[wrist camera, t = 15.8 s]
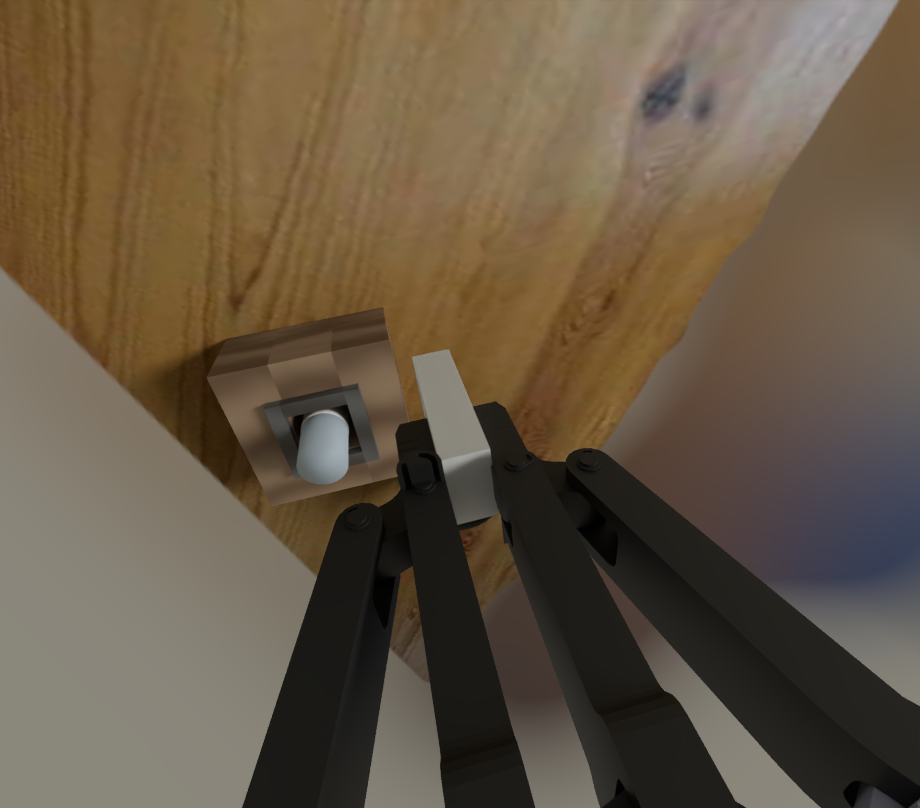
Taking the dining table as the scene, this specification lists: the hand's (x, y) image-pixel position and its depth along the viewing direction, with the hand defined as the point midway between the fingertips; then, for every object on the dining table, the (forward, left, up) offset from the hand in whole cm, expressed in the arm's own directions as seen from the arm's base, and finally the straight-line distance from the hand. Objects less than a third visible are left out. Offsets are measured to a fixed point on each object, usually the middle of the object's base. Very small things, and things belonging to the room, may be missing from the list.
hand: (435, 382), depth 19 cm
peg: (+16, -10, -29) cm, 35 cm away
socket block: (+16, -10, -30) cm, 36 cm away
